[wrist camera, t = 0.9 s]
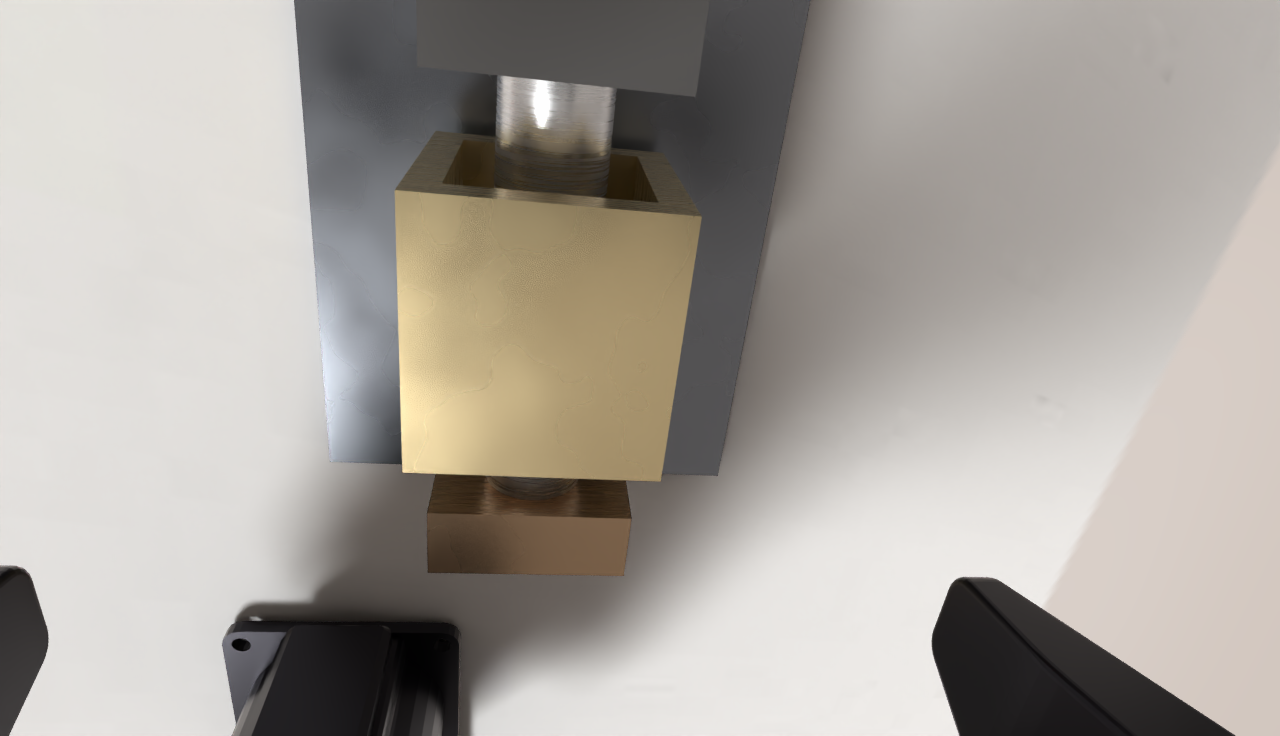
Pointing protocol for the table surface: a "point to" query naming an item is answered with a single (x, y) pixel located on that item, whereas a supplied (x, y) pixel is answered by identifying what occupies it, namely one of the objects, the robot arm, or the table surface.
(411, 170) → the sleeve
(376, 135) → the pipe rig
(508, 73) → the dark grey square collar
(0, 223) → the table surface
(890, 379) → the table surface
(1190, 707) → the robot arm
